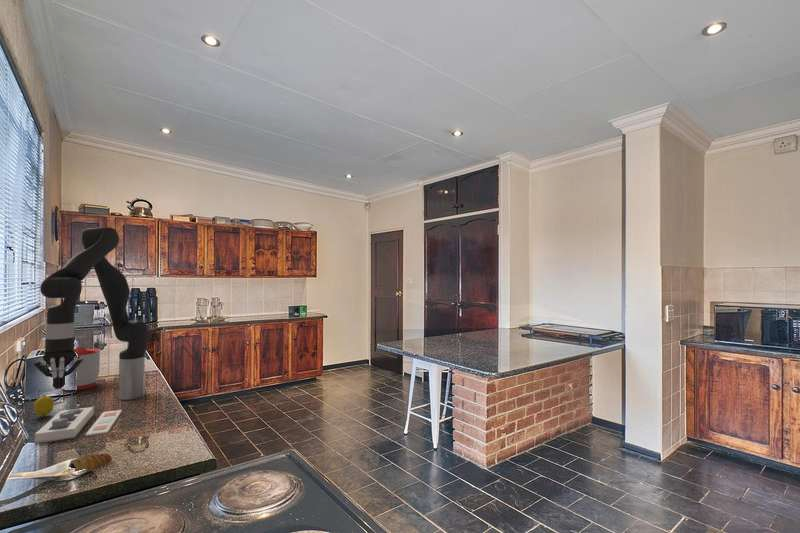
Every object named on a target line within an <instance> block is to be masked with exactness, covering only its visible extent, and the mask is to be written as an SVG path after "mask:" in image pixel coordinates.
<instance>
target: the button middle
mask: <svg viewBox="0 0 800 533" xmlns="http://www.w3.org/2000/svg"><path fill="white" fill-rule="evenodd" d="M74 416H75V412H73V411H71V412H64V413H61V414H60V419H61V418H68V421H74Z"/></svg>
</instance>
